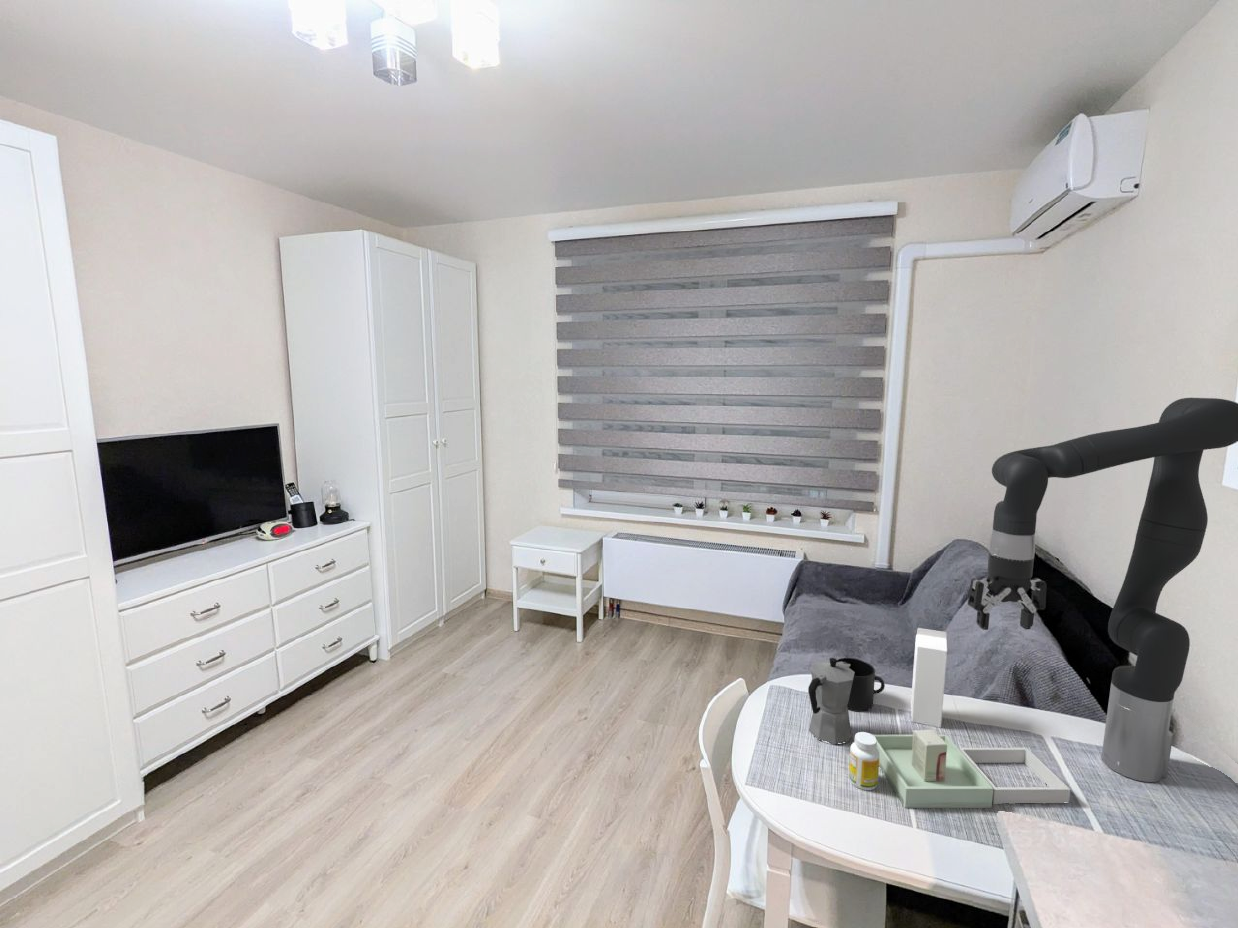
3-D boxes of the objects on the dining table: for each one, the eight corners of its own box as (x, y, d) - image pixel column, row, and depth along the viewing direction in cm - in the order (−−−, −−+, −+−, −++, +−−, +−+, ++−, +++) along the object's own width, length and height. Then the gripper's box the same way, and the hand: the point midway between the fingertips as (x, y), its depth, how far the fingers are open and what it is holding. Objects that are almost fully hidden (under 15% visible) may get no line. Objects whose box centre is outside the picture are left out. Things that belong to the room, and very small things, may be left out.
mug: (889, 714, 136) (891, 679, 134) (836, 709, 138) (837, 675, 136) (878, 692, 145) (880, 659, 143) (828, 688, 147) (830, 656, 145)
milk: (910, 708, 138) (916, 622, 135) (938, 714, 135) (945, 626, 132) (911, 722, 132) (917, 632, 129) (941, 728, 130) (948, 637, 127)
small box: (945, 781, 112) (948, 744, 111) (923, 781, 112) (926, 745, 110) (930, 763, 117) (933, 728, 116) (910, 764, 117) (912, 729, 115)
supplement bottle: (844, 782, 114) (846, 738, 112) (854, 768, 118) (856, 725, 116) (872, 795, 110) (874, 750, 109) (881, 780, 114) (884, 737, 112)
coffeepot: (826, 711, 137) (830, 641, 134) (864, 730, 130) (868, 656, 127) (789, 738, 127) (791, 663, 125) (827, 759, 120) (831, 681, 117)
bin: (944, 751, 122) (946, 734, 122) (991, 807, 106) (993, 788, 106) (869, 751, 123) (870, 734, 122) (904, 807, 107) (906, 788, 106)
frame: (1024, 760, 119) (1026, 747, 119) (1068, 803, 107) (1070, 789, 107) (957, 760, 119) (958, 747, 119) (993, 803, 107) (994, 789, 107)
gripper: (1034, 546, 118) (1026, 620, 121) (964, 547, 119) (958, 620, 121) (1061, 558, 111) (1052, 636, 114) (987, 559, 111) (980, 636, 114)
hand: (1003, 628), depth 118 cm, fingers open, 8 cm apart
